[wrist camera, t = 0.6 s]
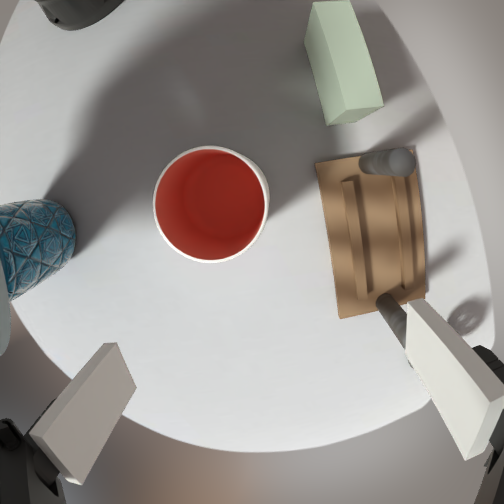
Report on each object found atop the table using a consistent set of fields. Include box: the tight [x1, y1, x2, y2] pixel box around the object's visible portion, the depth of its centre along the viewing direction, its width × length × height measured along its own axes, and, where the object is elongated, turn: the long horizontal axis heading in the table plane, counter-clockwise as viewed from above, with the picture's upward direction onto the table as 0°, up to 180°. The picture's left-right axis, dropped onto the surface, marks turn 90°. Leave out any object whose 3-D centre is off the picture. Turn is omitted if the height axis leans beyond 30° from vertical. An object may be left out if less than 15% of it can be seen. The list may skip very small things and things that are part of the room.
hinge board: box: [315, 148, 425, 349], centre depth 29 cm, size 19×12×11 cm, turn 12°
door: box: [304, 0, 384, 126], centre depth 26 cm, size 11×4×10 cm, turn 12°
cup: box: [153, 146, 270, 263], centre depth 30 cm, size 10×10×10 cm
